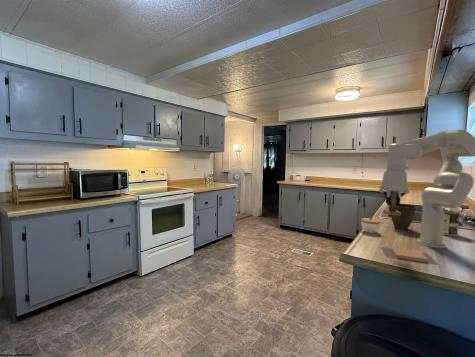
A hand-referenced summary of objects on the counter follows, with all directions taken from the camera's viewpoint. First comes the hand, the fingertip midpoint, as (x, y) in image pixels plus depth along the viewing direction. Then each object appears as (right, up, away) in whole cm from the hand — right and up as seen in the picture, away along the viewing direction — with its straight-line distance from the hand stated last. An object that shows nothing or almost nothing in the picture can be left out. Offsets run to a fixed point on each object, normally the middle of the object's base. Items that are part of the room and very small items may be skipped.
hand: (392, 204), depth 119 cm
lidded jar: (+7, -21, +33) cm, 40 cm away
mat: (+3, -24, -6) cm, 25 cm away
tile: (+5, -23, -2) cm, 23 cm away
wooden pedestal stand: (0, -5, 0) cm, 5 cm away
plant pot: (+33, -21, +42) cm, 57 cm away
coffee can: (+56, -22, +32) cm, 69 cm away
